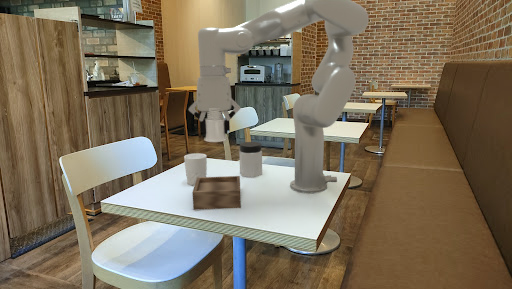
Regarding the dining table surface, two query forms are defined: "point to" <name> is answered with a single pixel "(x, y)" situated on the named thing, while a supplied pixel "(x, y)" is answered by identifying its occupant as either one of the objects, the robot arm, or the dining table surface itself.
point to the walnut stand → (217, 193)
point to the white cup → (195, 167)
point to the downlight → (215, 126)
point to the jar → (250, 159)
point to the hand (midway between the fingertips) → (215, 132)
